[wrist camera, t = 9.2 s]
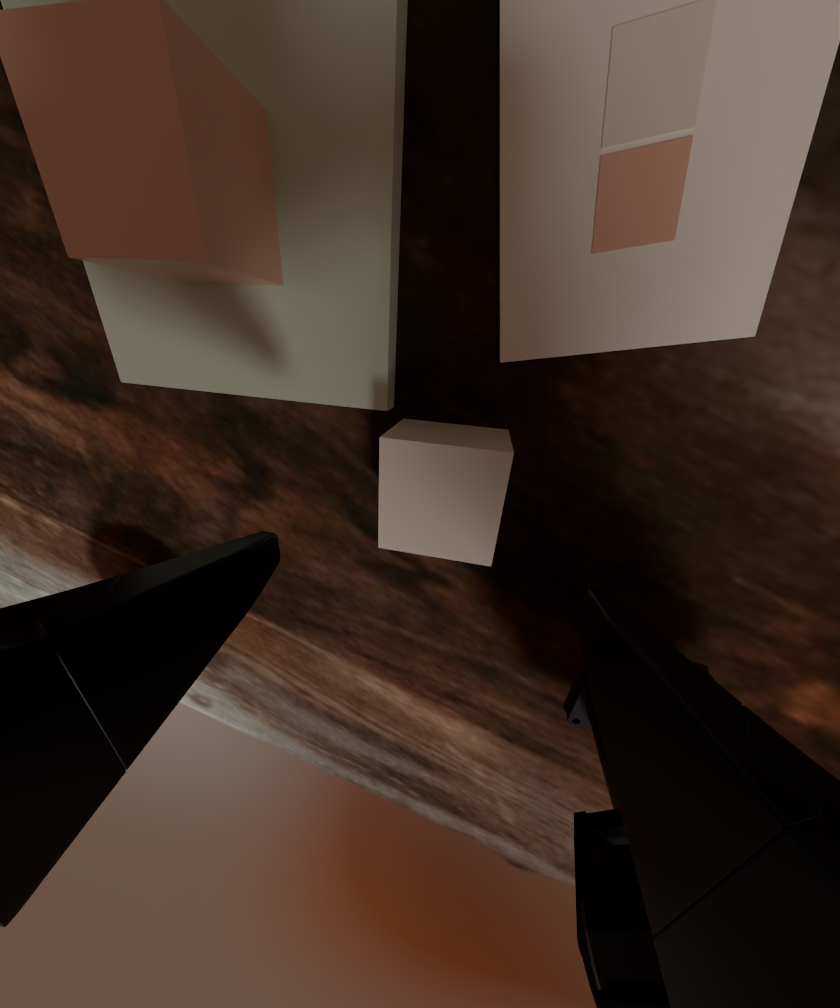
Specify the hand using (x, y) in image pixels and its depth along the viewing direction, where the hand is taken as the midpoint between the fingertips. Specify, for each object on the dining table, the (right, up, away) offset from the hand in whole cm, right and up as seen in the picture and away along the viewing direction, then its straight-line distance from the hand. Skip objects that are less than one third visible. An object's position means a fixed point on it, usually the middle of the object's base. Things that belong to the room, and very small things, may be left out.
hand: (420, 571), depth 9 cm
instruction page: (+7, +13, +1) cm, 15 cm away
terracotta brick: (-8, +13, +3) cm, 16 cm away
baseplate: (-8, +14, +4) cm, 16 cm away
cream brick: (+2, +4, +7) cm, 8 cm away
